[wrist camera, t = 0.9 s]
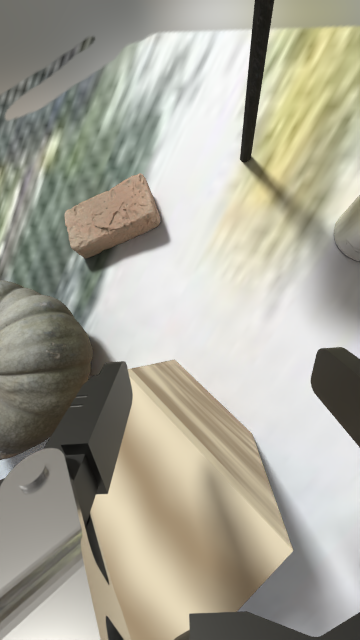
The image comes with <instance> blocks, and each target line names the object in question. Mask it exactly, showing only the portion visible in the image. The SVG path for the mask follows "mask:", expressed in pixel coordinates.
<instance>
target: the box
mask: <svg viewBox="0 0 360 640" xmlns="http://www.w3.org/2000/svg"><path fill="white" fill-rule="evenodd" d="M128 373H129V378H130V382H131V387H132V393H133V399H132V406H131V409H130V413H129V417H128V421H127V424H126V428H125V432H124V436H123V439H122V443H121V447H120V450H119V454H118V458H117V462H116V465H115V469H114V473H113V477H112V480H111V484H110V488H109V492H108V494H96V495H95V499H94V502H93V505H92V508H91V512H92V516H93V519H94V522H95V526H96V529H97V533H98V536H99V540H100V543H101V547H102V550H103V554H104V557H105V561H106V564H107V568H108V571H109V575H110V578H111V581H112V585H113V588H114V591H115V594H116V597H117V599H118V602H119V604H120V607H121V610H122V613H123V616H124V619H125V622H126V625H127V628H128V632H129V635H130V638H131V640H174V639H175V638H176V637H178V636H179V635H181V634H183V633H184V632H186V631H188V630H190V626H189V614H191V613H218V612H237V611H238V610H239V609H240V608H241V607H242V606H243V605H244V603H245V602H246V601H247V600H248V599H249V598H250V597H251V596H252V595H253V594H254V593H255V592H256V590H257V589H258V588H259V587H260V586H261V585H262V584H263V583H264V582H265V581H266V580H267V579H268V578H269V576H270V575H271V574H272V573H273V572H274V571H275V570H276V569H277V568H278V567H279V566H280V565H281V564H282V562H283V561H284V560H285V559H286V558H287V557H288V556H289V555H290V554H291V553H292V552H293V548H292V545H291V543H290V540H289V537H288V534H287V531H286V528H285V526H284V523H283V520H282V517H281V514H280V511H279V509H278V506H277V503H276V500H275V497H274V494H273V492H272V489H271V486H270V483H269V480H268V478H267V475H266V472H265V469H264V466H263V463H262V461H261V458H260V455H259V452H258V449H257V446H256V444H255V441H254V438H253V435H252V433H251V432H250V431H249V430H248V429H247V428H246V427H245V426H243V425H242V424H241V423H240V422H239V421H238V420H237V419H236V418H235V417H234V416H233V415H232V414H231V413H230V412H229V411H228V410H227V409H226V408H225V407H224V406H223V405H222V404H220V403H219V402H218V401H217V400H216V399H215V398H214V397H213V396H212V395H211V394H210V393H209V392H208V391H207V390H206V389H205V388H204V387H203V386H202V385H201V384H200V383H199V382H198V381H196V380H195V379H194V378H193V377H192V376H191V375H190V374H189V373H188V372H187V371H186V370H185V369H184V368H183V367H182V366H181V365H180V364H179V363H178V362H177V361H176V360H170V361H165V362H161V363H156V364H151V365H146V366H141V367H137V368H132V369H128Z"/></svg>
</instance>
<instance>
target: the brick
mask: <svg viewBox="0 0 360 640" xmlns="http://www.w3.org/2000/svg"><path fill="white" fill-rule="evenodd" d="M159 224H160V216H159V213H158V210H157V207H156V205H155V202H154V198H153V196H152V193H151V191H150V188H149V186H148V183H147V181H146V179H145V177H144V176H143V175H142V174H141V173H140V174H138V175H134V176H132V177H130V178H128V179H126V180H124V181H123V182H121V183H120V184H118V185H116V186H115V187H113V188H112V189H111V190H110V191H106V192H104V193H102V194H99V195H97V196H95V197H93V198H90V199H88V200H86V201H83V202H81V203H80V204H79V205H76V206H74V207H73V208H72V209H69V210H67V211H66V212H65V225H66V226H67V231H68V233H69V241H70V244H71V247H72V249H73V250H74V251H76V252H77V253H78V254H79V255H81V256H83V257H84V258H89V257H91V256H95V255H97V254H99V253H101V252H102V251H103V250H106V249H110V248H112V247H114V246H116V245H118V244H121V243H123V242H125V241H128V240H129V239H132V238H135V237H137V236H139V235H141V234H143V233H146V232H148V231H149V230H151V229H153V228H155V227H157V226H158V225H159Z"/></svg>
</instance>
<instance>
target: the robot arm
mask: <svg viewBox="0 0 360 640" xmlns="http://www.w3.org/2000/svg"><path fill="white" fill-rule="evenodd" d="M334 238H335V242H336V244H337V246H338V248H339V249H340V250H341V251H342V252H343V253H344V254H345V255H346V256H348V257H349V258H351V259H353V260H356V261H359V262H360V195H359V196H358V197H357V198H356V200H355V201H354V202H353V203H352V204H351V205H350V206H349V208H348V209H347V210H346V211H345V212H344V213H343V214H342V216H341V217H340V218H339V219H338V221H337V223H336V225H335V229H334ZM311 386H312V389H313V391H314V393H315V394H316V395H317V397H318V398H319V399H320V400H321V401H322V403H323V404H324V405H325V406H326V407H327V409H328V410H329V411H330V412H331V413H332V415H333V416H334V417H335V418H336V419H337V421H338V422H339V423H340V424H341V425H342V427H343V428H344V429H345V430H346V431H347V433H348V434H349V435H350V436H351V437H352V439H353V440H354V441H355V442H356V443H357V445H358V446H359V447H360V359H359V358H357V357H356V356H355V355H353V354H352V353H350V352H349V351H348V350H346V349H345V348H342V347H336V348H322V349H319V350H318V352H317V354H316V359H315V363H314V367H313V371H312V376H311ZM132 399H133V393H132V387H131V382H130V378H129V373H128V369H127V365H126V362H124V361H123V362H108V363H105V365H104V367H103V368H102V370H101V372H100V374H99V375H97V376H92V377H91V378H90V379H89V380H88V381H87V382H86V383H84V384H83V385H82V387H81V389H80V390H79V392H78V394H77V395H76V398H74V400H73V402H72V403H71V406H70V407H69V408H68V410H67V411H66V413H65V415H64V416H63V418H62V419H61V421H60V423H59V424H58V426H57V428H56V429H55V431H54V432H53V434H52V436H51V437H50V439H49V440H48V442H47V444H46V445H45V447H44V448H43V449H42V450H39V451H37V452H35V453H33V454H31V455H29V456H28V457H26V458H25V459H23V460H22V461H21V462H20V463H18V464H17V465H16V466H15V467H14V468H13V469H12V470H11V471H10V473H9V474H8V475H7V476H6V478H4V479H2V480H0V640H131V638H130V635H129V632H128V628H127V625H126V622H125V619H124V616H123V613H122V610H121V607H120V604H119V602H118V599H117V597H116V594H115V591H114V588H113V585H112V581H111V578H110V575H109V571H108V568H107V564H106V561H105V557H104V554H103V550H102V547H101V543H100V540H99V536H98V533H97V529H96V526H95V522H94V519H93V516H92V512H91V508H92V505H93V502H94V499H95V495H96V494H108V492H109V488H110V484H111V480H112V477H113V473H114V469H115V465H116V462H117V458H118V454H119V450H120V447H121V443H122V439H123V436H124V432H125V428H126V424H127V421H128V417H129V413H130V409H131V406H132ZM189 626H190V630H188V631H186V632H184V633H183V634H181V635H179V636H178V637H176V638H175V639H174V640H360V612H359V613H358V614H356V615H355V616H353V617H351V618H350V619H348V620H347V621H345V622H343V623H342V624H340V625H339V626H337V627H335V628H334V629H332V630H331V631H329V632H327V633H326V634H324V635H322V636H320V637H311V636H308V635H305V634H303V633H300V632H298V631H295V630H293V629H290V628H287V627H285V626H282V625H280V624H277V623H275V622H272V621H270V620H267V619H264V618H262V617H259V616H257V615H254V614H252V613H249V612H247V611H246V612H218V613H191V614H189Z"/></svg>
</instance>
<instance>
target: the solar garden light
mask: <svg viewBox="0 0 360 640" xmlns="http://www.w3.org/2000/svg"><path fill="white" fill-rule="evenodd" d="M273 4H274V0H255V5H254V16H253V27H252V37H251V48H250V59H249V69H248V80H247V91H246V101H245V112H244V123H243V133H242V144H241V155H240V160H241V161H242V162H247V161H249V160H250V159H251V153H252V146H253V139H254V132H255V126H256V119H257V112H258V105H259V99H260V92H261V85H262V78H263V72H264V65H265V58H266V52H267V45H268V38H269V31H270V25H271V18H272V11H273Z"/></svg>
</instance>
